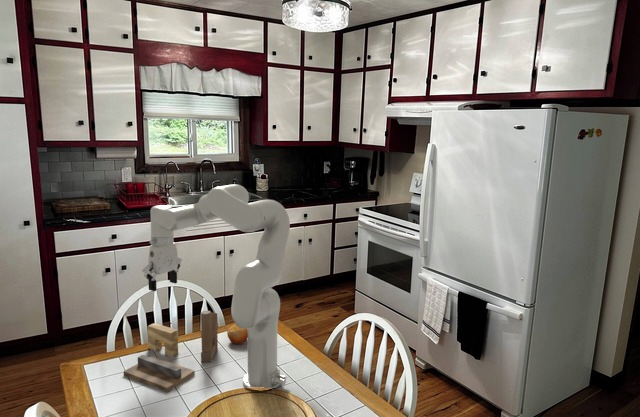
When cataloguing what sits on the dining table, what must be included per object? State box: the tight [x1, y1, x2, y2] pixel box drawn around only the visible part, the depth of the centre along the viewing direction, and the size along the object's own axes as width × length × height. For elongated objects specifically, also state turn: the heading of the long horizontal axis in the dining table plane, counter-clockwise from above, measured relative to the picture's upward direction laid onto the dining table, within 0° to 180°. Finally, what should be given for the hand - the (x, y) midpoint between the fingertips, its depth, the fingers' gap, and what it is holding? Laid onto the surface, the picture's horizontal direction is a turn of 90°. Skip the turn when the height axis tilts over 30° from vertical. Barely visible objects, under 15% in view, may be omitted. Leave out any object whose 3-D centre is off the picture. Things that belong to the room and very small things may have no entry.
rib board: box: [123, 354, 196, 393], centre depth 154 cm, size 20×12×4 cm, turn 62°
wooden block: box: [200, 310, 219, 363], centre depth 167 cm, size 4×11×18 cm, turn 179°
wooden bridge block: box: [147, 322, 179, 357], centre depth 170 cm, size 3×12×9 cm, turn 62°
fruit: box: [226, 323, 248, 345], centre depth 179 cm, size 8×8×8 cm
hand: (163, 286), depth 166 cm, fingers open, 9 cm apart
